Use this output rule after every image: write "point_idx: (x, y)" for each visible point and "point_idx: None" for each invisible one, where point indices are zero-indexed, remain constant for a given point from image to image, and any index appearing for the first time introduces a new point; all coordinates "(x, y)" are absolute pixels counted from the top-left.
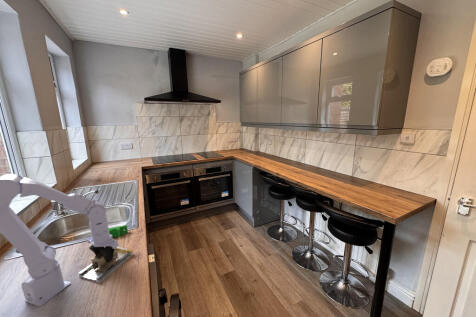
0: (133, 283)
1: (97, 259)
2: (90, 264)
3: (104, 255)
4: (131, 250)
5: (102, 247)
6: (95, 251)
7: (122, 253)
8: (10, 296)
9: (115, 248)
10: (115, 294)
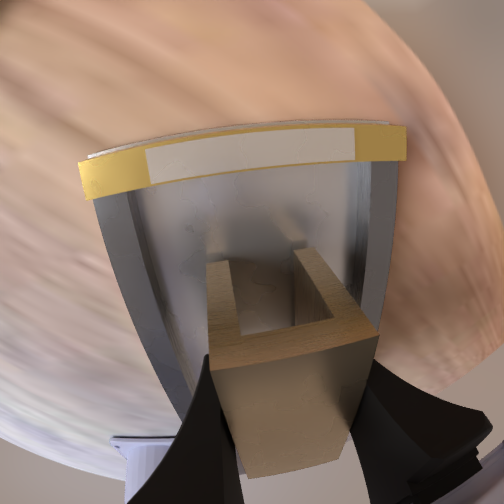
0: (485, 302)
1: (318, 463)
2: (171, 398)
3: (356, 445)
4: (404, 137)
5: (228, 467)
6: (242, 499)
7: (282, 171)
8: (89, 469)
9: (375, 347)
10: (446, 359)
